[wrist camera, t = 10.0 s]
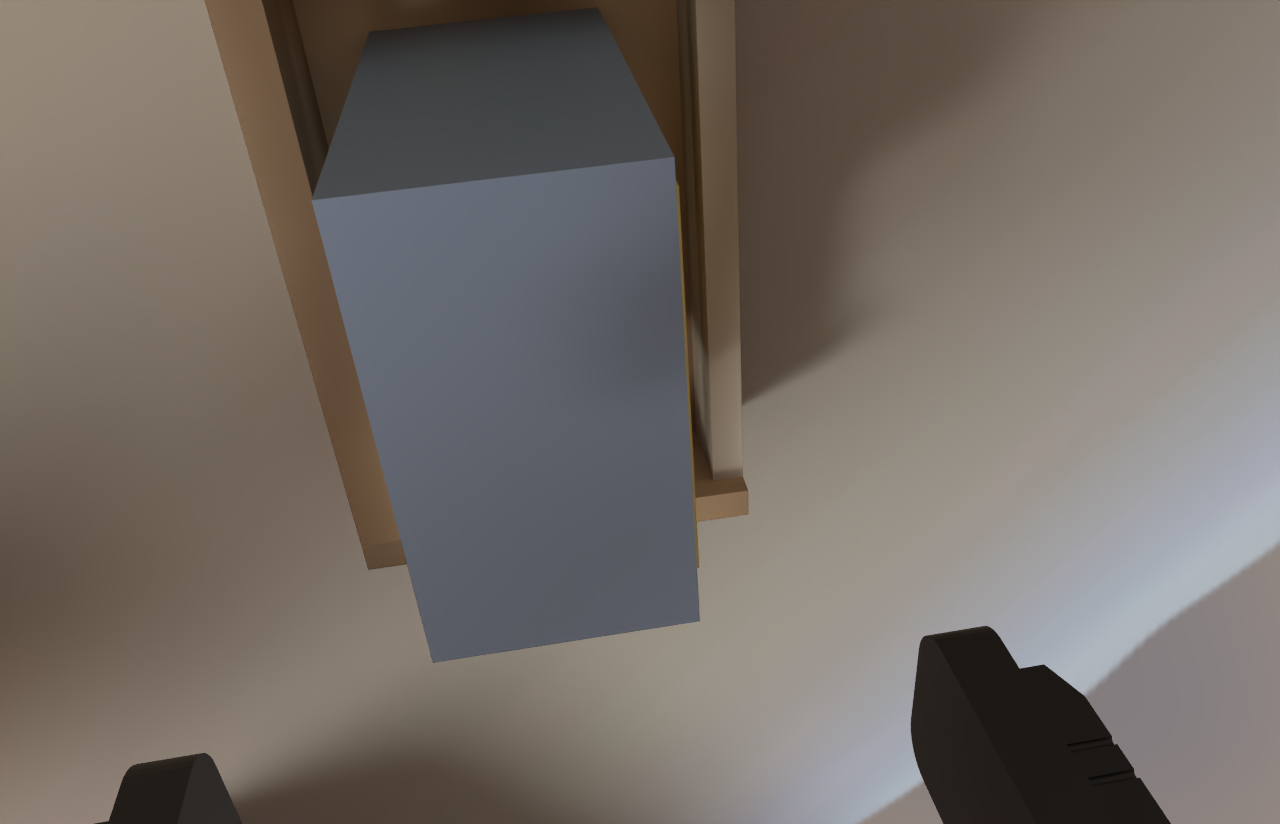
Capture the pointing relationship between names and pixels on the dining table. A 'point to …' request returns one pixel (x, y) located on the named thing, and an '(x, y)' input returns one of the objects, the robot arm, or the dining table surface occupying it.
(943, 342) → the dining table surface
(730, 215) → the shelf
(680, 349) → the tea box
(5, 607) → the dining table surface
